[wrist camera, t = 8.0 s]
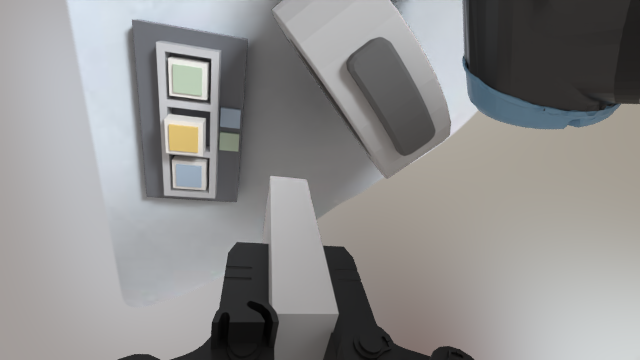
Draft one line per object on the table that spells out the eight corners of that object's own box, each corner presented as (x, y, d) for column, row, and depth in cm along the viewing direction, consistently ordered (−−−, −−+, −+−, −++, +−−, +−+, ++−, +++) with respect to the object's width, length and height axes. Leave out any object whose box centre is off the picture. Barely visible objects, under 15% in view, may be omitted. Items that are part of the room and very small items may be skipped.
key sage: (172, 56, 35) (167, 58, 33) (209, 61, 36) (206, 64, 34) (173, 91, 37) (168, 95, 35) (209, 96, 38) (206, 100, 36)
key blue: (175, 153, 40) (171, 160, 38) (208, 156, 41) (205, 163, 39) (176, 180, 42) (172, 189, 40) (207, 183, 43) (205, 191, 41)
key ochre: (169, 113, 35) (163, 119, 33) (205, 118, 36) (202, 124, 34) (170, 146, 37) (165, 153, 35) (205, 149, 38) (202, 157, 36)
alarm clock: (268, 11, 37) (275, 6, 19) (320, -31, 35) (375, -76, 18) (359, 144, 47) (416, 219, 29) (401, 114, 45) (486, 174, 28)
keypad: (138, 19, 35) (124, 19, 31) (247, 38, 37) (246, 41, 34) (151, 189, 44) (141, 204, 41) (237, 195, 47) (235, 209, 44)
